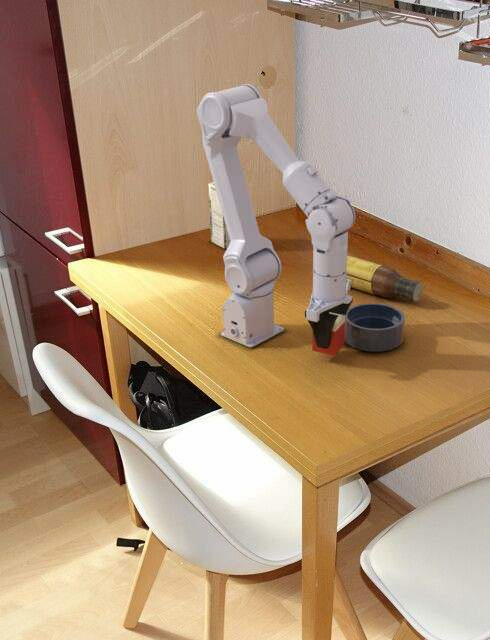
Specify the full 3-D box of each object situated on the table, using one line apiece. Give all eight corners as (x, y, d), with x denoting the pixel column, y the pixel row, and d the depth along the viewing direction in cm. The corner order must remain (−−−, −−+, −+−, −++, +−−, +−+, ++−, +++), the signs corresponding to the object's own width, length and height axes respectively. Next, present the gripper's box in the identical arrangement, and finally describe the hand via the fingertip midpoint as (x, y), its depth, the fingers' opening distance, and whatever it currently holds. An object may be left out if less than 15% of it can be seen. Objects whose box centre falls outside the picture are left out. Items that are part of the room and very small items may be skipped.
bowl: (379, 360, 149) (381, 336, 146) (331, 341, 155) (331, 317, 152) (414, 338, 157) (416, 314, 154) (366, 321, 162) (368, 297, 160)
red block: (334, 356, 146) (335, 325, 143) (312, 350, 147) (312, 320, 144) (344, 345, 149) (345, 315, 146) (322, 340, 151) (322, 310, 148)
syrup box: (231, 236, 199) (228, 177, 192) (245, 244, 196) (242, 183, 188) (210, 242, 196) (207, 181, 188) (224, 249, 192) (221, 188, 185)
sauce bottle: (343, 280, 180) (421, 308, 171) (327, 282, 175) (406, 311, 166) (349, 251, 178) (429, 277, 168) (333, 252, 173) (414, 280, 163)
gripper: (334, 291, 133) (332, 364, 141) (367, 259, 145) (364, 328, 152) (295, 282, 136) (295, 355, 143) (330, 252, 147) (329, 321, 154)
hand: (328, 341), depth 148 cm, fingers closed on red block, 4 cm apart
